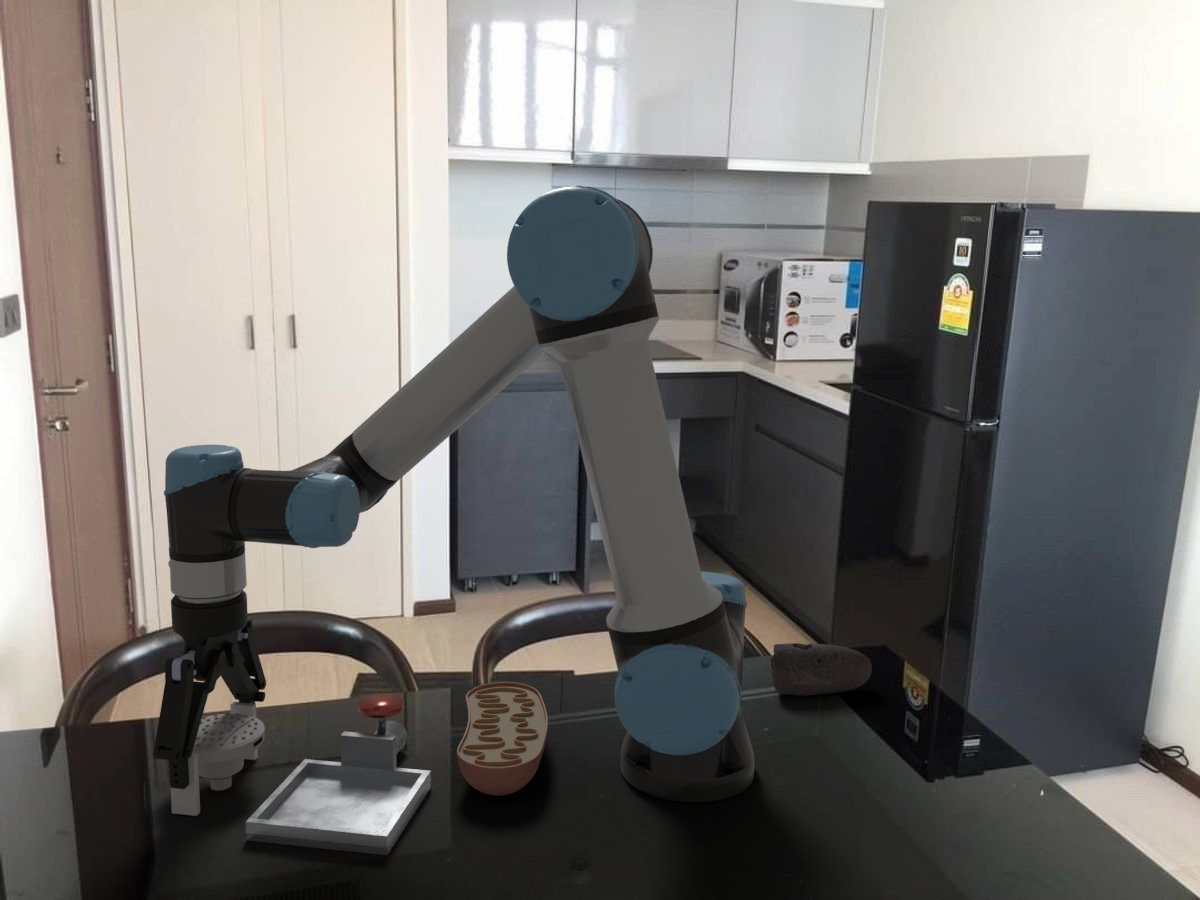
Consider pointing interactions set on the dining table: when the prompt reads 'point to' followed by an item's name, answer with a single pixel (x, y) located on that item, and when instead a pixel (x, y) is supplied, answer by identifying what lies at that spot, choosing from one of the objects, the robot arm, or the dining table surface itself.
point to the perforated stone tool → (817, 669)
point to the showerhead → (226, 746)
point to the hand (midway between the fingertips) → (217, 783)
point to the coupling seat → (347, 792)
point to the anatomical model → (502, 737)
